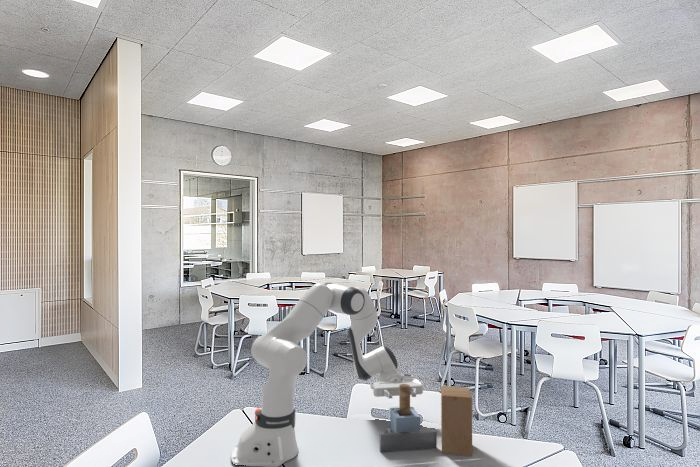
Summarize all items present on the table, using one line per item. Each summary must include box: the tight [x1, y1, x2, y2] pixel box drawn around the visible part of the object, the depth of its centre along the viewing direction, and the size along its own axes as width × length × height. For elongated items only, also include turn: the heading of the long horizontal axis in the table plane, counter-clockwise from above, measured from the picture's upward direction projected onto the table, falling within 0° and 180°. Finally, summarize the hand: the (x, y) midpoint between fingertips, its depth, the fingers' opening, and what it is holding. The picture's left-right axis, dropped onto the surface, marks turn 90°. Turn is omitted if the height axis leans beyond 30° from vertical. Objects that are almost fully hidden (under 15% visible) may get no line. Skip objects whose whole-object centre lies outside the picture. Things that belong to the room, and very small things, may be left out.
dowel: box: [398, 384, 411, 416], centre depth 153 cm, size 4×4×16 cm
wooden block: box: [440, 385, 473, 457], centre depth 142 cm, size 10×10×20 cm
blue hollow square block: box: [389, 406, 421, 433], centre depth 153 cm, size 9×9×8 cm
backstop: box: [379, 427, 438, 454], centre depth 148 cm, size 20×16×6 cm
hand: (402, 395), depth 157 cm, fingers open, 8 cm apart
